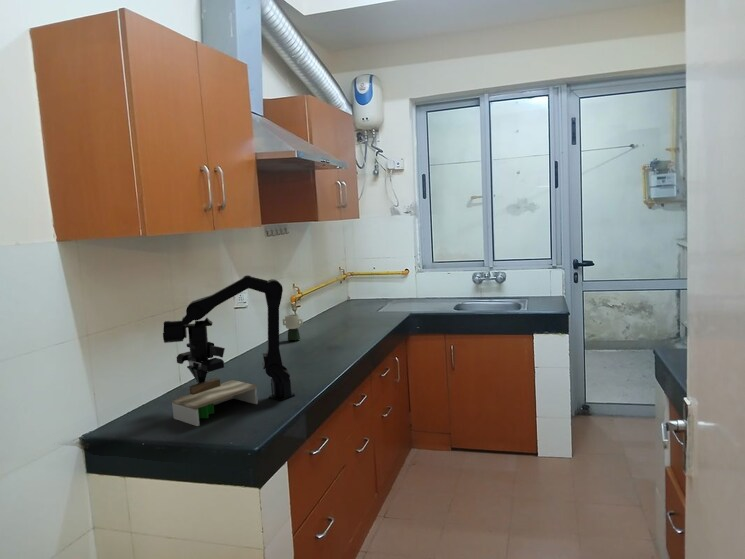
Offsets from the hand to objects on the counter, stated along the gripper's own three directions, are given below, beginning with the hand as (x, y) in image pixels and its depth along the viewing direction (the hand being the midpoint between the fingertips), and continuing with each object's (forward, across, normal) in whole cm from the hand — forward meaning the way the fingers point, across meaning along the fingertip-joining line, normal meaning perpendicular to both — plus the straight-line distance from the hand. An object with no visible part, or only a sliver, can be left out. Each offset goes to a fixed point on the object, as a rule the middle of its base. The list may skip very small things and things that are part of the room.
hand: (201, 386), depth 174 cm
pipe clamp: (+7, -8, +4) cm, 11 cm away
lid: (+1, -7, 0) cm, 8 cm away
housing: (+6, -8, 0) cm, 10 cm away
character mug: (+9, +48, -83) cm, 97 cm away
